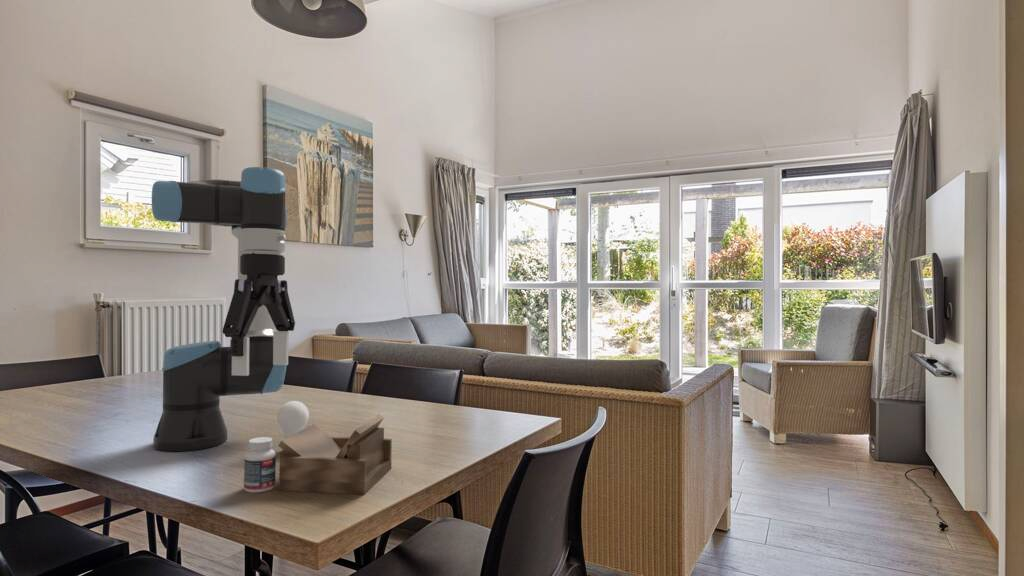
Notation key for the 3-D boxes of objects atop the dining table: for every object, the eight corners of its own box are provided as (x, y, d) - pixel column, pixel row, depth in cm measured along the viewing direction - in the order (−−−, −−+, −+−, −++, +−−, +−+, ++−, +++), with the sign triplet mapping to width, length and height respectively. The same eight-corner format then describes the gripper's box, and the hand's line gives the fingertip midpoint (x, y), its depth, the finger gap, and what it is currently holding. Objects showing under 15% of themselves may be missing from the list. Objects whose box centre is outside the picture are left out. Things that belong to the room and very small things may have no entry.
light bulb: (282, 446, 133) (282, 398, 133) (311, 445, 133) (312, 398, 133) (272, 454, 126) (273, 404, 126) (303, 454, 127) (304, 404, 127)
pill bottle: (263, 494, 102) (264, 444, 102) (237, 492, 103) (238, 442, 103) (281, 484, 107) (281, 437, 107) (256, 482, 108) (256, 435, 108)
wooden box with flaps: (274, 489, 104) (275, 428, 104) (312, 464, 119) (312, 410, 119) (364, 494, 103) (365, 431, 103) (391, 468, 118) (391, 413, 117)
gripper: (243, 249, 93) (242, 381, 93) (313, 257, 117) (312, 361, 117) (199, 248, 93) (198, 379, 93) (278, 257, 118) (277, 360, 118)
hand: (261, 369), depth 105 cm, fingers open, 13 cm apart
